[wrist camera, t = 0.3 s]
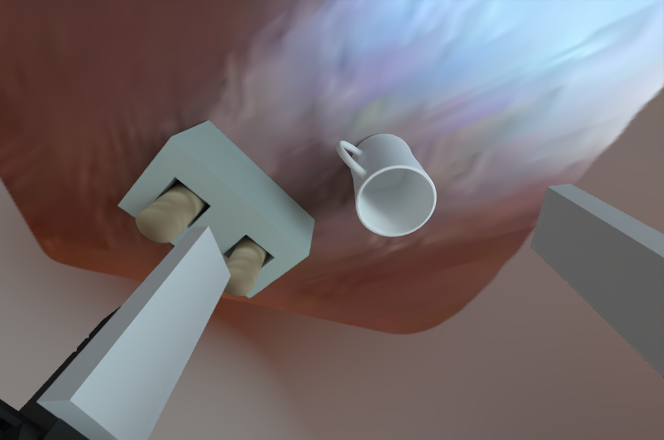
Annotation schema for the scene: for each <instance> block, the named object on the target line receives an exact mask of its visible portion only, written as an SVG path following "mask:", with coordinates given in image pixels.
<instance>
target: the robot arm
mask: <svg viewBox="0 0 664 440" xmlns="http://www.w3.org/2000/svg"><path fill="white" fill-rule="evenodd" d="M531 248H532V249H533V250H534V251H535V252H536V253H537V254H538V255H539V256H540V257H541V258H542V259H543V260H544V261H545V262H546V263H547V264H549V266H551V267H552V268H553V269H554V270H555V271H556V272H557V273H558V274H559V275H560V276H561V277H562V278H563V279H564V280H565V281H566V282H567V283H568V284H569V285H570V286H571V287H572V288H573V289H574V290H575V291H576V292H577V293H578V294H579V295H580V296H581V297H582V298H583V299H584V300H585V301H586V302H587V303H588V304H589V305H590V306H591V307H592V308H593V309H594V310H595V311H596V312H597V313H598V314H599V315H600V316H601V317H602V318H603V319H604V320H605V321H606V322H607V323H608V324H609V325H610V326H611V327H612V328H613V329H614V330H615V331H617V332H618V334H619V335H620V336H621V337H623V338H624V339H625V340H626V341H627V342H628V343H629V344H630V345H631V346H632V347H633V348H634V349H635V350H636V351H637V352H638V353H639V354H640V355H641V356H642V357H643V358H644V359H645V360H646V361H647V362H648V363H649V364H650V365H651V366H652V367H653V368H654V369H655V370H656V371H657V372H658V373H659V374H660V375H661V376H662V377H663V378H664V234H662V233H660V232H658V231H657V230H655V229H652V228H651V227H649V226H647V225H645V224H643V223H642V222H640V221H638V220H636V219H634V218H633V217H631V216H629V215H627V214H625V213H623V212H621V211H619V210H618V209H616V208H614V207H612V206H610V205H608V204H607V203H605V202H603V201H601V200H599V199H597V198H596V197H594V196H592V195H590V194H588V193H586V192H584V191H582V190H581V189H579V188H577V187H575V186H573V185H571V184H564V185H555V186H548V187H547V190H546V194H545V197H544V201H543V205H542V208H541V212H540V215H539V219H538V222H537V226H536V230H535V233H534V237H533V240H532V244H531ZM230 277H231V275H230V272H229V270H228V268H227V266H226V263H225V261H224V259H223V257H222V254H221V252H220V250H219V248H218V246H217V243H216V241H215V239H214V237H213V234H212V232H211V230H210V228H209V226H203V227H195V228H191V229H190V230H189V231H188V232H187V233H186V234H185V236H184V237H183V238H182V239H181V240H180V241H179V242H178V243H177V245H176V246H175V247H174V248H173V249H172V250H171V251H170V252H169V254H168V255H167V256H166V257H165V258H164V259H163V260H162V261H161V263H160V264H159V265H158V266H157V267H156V268H155V269H154V270H153V271H152V273H151V274H150V275H149V276H148V277H147V278H146V279H145V280H144V282H143V283H142V284H141V285H140V286H139V287H138V288H137V289H136V291H135V292H134V293H133V294H132V295H131V296H130V297H129V299H128V300H127V301H126V302H125V303H124V304H123V305H122V306H120V307H119V308H118V309H116V310H115V311H114V312H113V313H111V314H110V315H108V316H107V317H106V318H105V319H103V320H102V321H101V322H100V324H99V325H98V326H97V327H96V328H95V329H94V330H93V331H92V332H91V333H90V334H89V338H86V339H85V340H84V341H83V342H82V343H81V344H80V345H79V346H78V348H77V351H76V352H73V353H72V354H71V355H70V356H69V357H68V358H67V360H66V361H65V362H64V363H63V364H62V365H61V366H60V367H59V368H58V369H57V370H56V372H55V373H54V374H53V375H52V376H51V377H50V378H49V379H48V380H47V382H45V384H44V385H43V386H42V387H41V388H40V389H39V390H38V391H37V392H36V393H35V394H34V396H33V397H32V398H31V399H30V400H29V401H28V402H27V403H26V404H25V405H24V406H23V407H22V408H21V409H20V410H19V411H17V410H15V409H14V408H13V407H11V406H9V405H8V404H7V403H5V402H4V401H2V400H1V399H0V440H148V438H149V435H150V434H151V432H152V430H153V428H154V426H155V424H156V422H157V420H158V418H159V416H160V414H161V412H162V410H163V408H164V406H165V404H166V402H167V400H168V398H169V396H170V394H171V392H172V390H173V388H174V387H175V385H176V383H177V381H178V379H179V377H180V375H181V373H182V371H183V369H184V367H185V365H186V363H187V361H188V359H189V357H190V355H191V353H192V351H193V349H194V347H195V345H196V343H197V341H198V340H199V338H200V336H201V334H202V331H203V330H204V328H205V325H206V324H207V322H208V320H209V318H210V316H211V314H212V312H213V310H214V308H215V306H216V304H217V302H218V300H219V298H220V296H221V294H222V292H223V290H224V289H225V287H226V285H227V283H228V281H229V279H230Z"/></svg>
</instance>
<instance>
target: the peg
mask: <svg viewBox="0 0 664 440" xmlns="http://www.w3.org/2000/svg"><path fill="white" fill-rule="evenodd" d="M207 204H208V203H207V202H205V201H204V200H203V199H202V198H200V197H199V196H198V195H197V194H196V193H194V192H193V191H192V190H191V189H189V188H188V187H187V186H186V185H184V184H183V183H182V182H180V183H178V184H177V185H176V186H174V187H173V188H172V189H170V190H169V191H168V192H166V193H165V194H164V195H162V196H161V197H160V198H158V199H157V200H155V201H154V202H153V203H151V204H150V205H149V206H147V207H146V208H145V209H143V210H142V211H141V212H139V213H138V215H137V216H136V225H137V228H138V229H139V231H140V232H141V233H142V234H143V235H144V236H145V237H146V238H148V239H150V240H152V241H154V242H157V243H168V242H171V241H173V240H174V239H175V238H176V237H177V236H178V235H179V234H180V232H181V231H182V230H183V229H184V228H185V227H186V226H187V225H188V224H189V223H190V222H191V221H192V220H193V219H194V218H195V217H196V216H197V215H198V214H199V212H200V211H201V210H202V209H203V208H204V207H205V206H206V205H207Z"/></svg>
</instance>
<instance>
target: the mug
mask: <svg viewBox="0 0 664 440" xmlns="http://www.w3.org/2000/svg"><path fill="white" fill-rule="evenodd" d="M344 148H345V149H347V150H349V151H350V152H352V153H353V155H352V158H351V157H350V156H349V155H348V153H347V152H346V151H345V150H344ZM336 150H337V152H338V154H339V156H340V157H341V158H342V160H343V161H344V162H345V163H346V164H347V165H348V166H349V167H350V169H351V174H352V177H353V182H354V193H355V203H356V211H357V214H358V217H359V219H360V220H361V222H362V223H363V224H364V226H365V227H367V228H368V229H369V230H371V231H372V232H374V233H376V234H379V235H383V236H401V235H405V234H408V233H411V232H413V231H415V230H417V229H418V228H420V227H421V226H422V225H423V224H424V223H425V222H426V221H427V220H428V219H429V218H430V216H431V215H432V213H433V211H434V208H435V205H436V190H435V187H434V184H433V182H432V181H431V179H430V178H429V176H428V175H427V174H426V172H425V171H424V170H423V168H422V167H421V166H420V164H419V163H418V162H417V160H416V159H415V158H414V156H413V155H412V153H411V150H410V148H409V147H408V145H407V144H406V143H405V142H404V141H403V140H402V139H400V138H399V137H397V136H395V135H391V134H376V135H373V136H370V137H368V138H367V139H365V140H364V141H362V142H361V143H360V144H359V145H358V146H357V147H355V146H353V145H352V144H350V143H348V142H346V141H339V142H338V143H337V145H336Z"/></svg>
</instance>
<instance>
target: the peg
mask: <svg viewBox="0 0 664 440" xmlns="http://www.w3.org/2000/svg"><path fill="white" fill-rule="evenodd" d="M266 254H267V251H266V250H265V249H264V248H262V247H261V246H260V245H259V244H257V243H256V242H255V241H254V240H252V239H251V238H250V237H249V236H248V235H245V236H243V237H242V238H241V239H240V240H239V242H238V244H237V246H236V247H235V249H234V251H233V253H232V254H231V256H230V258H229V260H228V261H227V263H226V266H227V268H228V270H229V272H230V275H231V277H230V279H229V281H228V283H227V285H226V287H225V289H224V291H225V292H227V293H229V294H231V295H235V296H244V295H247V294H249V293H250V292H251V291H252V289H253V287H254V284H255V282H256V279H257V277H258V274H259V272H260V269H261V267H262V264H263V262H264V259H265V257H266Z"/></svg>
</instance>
